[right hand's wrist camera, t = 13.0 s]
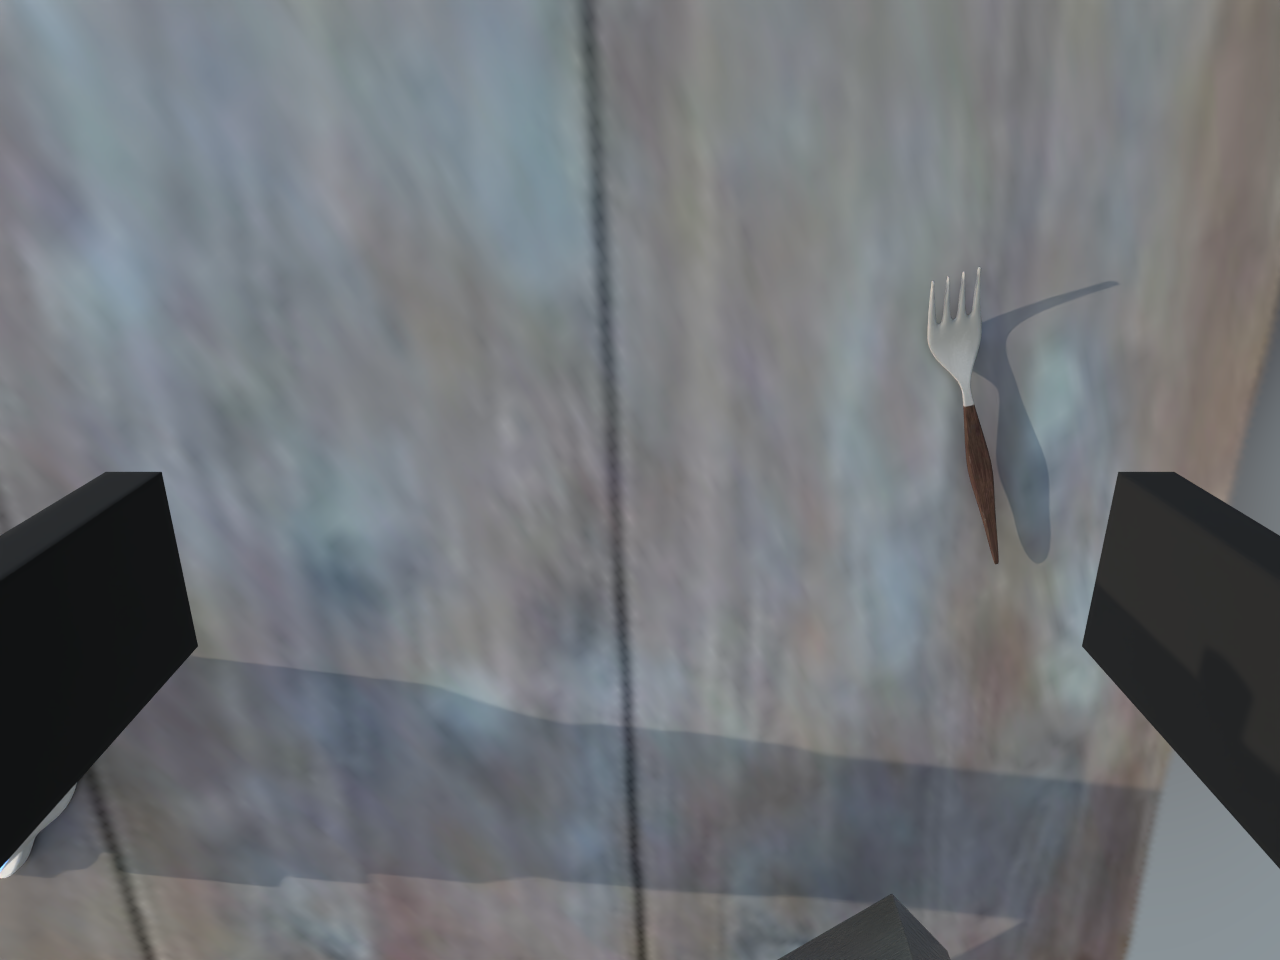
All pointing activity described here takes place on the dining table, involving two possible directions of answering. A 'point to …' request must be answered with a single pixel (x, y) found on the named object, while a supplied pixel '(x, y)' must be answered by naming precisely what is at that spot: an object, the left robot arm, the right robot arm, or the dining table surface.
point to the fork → (966, 392)
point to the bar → (874, 937)
